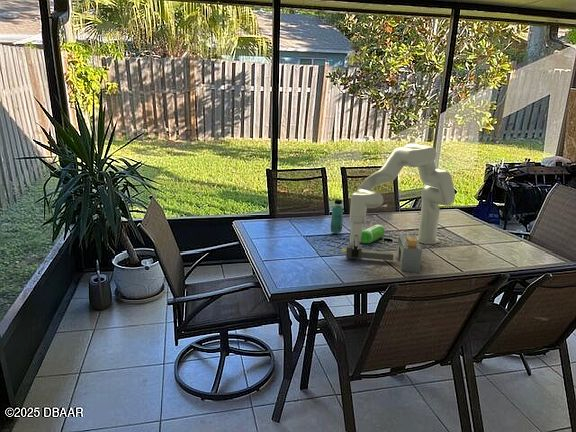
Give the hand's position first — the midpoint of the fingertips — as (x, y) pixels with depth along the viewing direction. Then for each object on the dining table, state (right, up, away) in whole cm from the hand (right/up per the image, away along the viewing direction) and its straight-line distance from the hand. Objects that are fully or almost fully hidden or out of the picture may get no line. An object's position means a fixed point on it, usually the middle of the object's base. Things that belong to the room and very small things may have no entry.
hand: (354, 254), depth 203 cm
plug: (+6, -1, 0) cm, 6 cm away
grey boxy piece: (+25, -4, -3) cm, 25 cm away
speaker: (+14, +5, +29) cm, 33 cm away
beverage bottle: (-5, +8, +37) cm, 38 cm away
